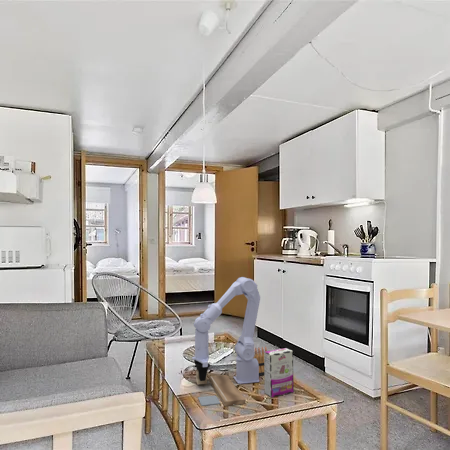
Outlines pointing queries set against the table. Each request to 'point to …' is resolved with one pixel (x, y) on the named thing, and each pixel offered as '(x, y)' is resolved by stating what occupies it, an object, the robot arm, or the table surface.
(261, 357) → the ammunition clip
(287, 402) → the table surface
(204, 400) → the slate mat
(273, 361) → the candy bar box
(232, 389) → the walnut board
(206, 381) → the block
